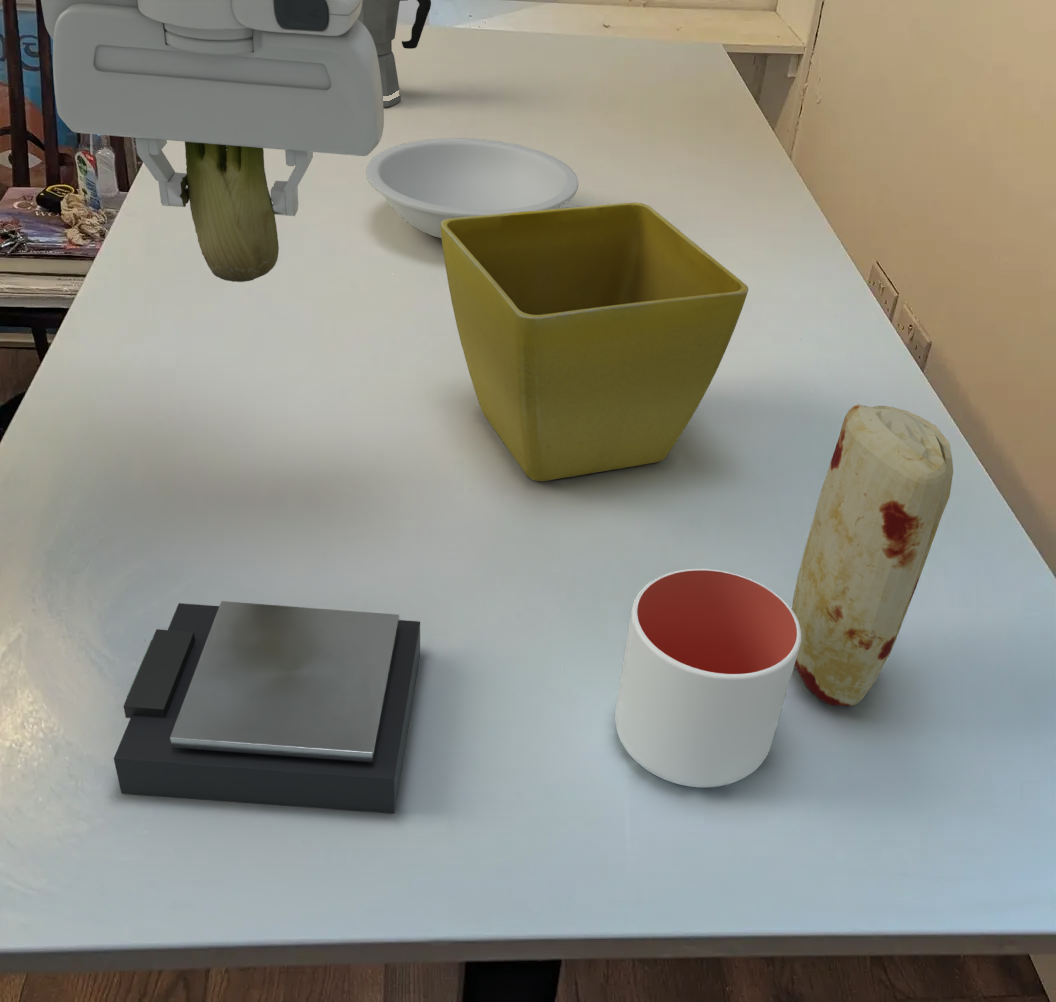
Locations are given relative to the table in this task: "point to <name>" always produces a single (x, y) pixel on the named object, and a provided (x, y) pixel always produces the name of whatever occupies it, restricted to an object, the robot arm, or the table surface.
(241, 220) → the fennel bulb
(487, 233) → the flower pot
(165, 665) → the scale
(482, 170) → the soup bowl
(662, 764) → the cup
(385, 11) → the coffeepot
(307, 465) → the table surface
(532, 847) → the table surface
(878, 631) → the food model
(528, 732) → the table surface
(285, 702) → the scale pan
